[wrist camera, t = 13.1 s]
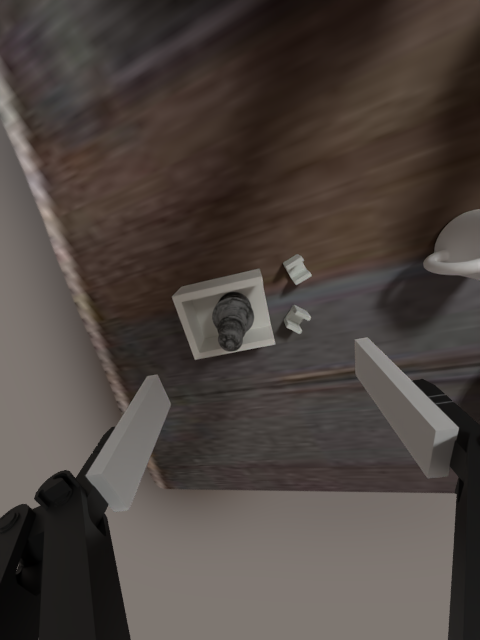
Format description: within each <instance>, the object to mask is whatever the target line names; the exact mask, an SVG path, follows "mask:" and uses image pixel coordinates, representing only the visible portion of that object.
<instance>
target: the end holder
mask: <svg viewBox="0 0 480 640" xmlns="http://www.w3.org/2000/svg"><path fill="white" fill-rule="evenodd" d="M230 292H238V293H241V294H243V295H245V296H246V297H247V298H248V299H249V301H250V303H251V307H252V309H253V312H254V322H253V325H252V327H251V328H250V329H249V330H248V331H247V332H246V333H245V336H244V337H243V343H242V345H241V347H240V348H239V349H238V350H236V351H233V352H238V351H244V350H249V349H254V348H259V347H264V346H269V345H275V340H274V336H273V332H272V328H271V323H270V318H269V313H268V308H267V303H266V298H265V293H264V288H263V279H262V275H261V272H260V269H255V270H251V271H247V272H242V273H238V274H234V275H229V276H225V277H221V278H216V279H212V280H208V281H203V282H199V283H195V284H190V285H186V286H182V287H181V288H180V289H179V290H178V291H177V292H176V293H175V294H174V295H173V296H172V299H173V302H174V304H175V307H176V310H177V312H178V315H179V318H180V321H181V323H182V326H183V329H184V331H185V334H186V337H187V340H188V342H189V345H190V348H191V350H192V353H193V356H194V359H195V360H197V359H202V358H207V357H212V356H218V355H223V354H228V353H233V352H228V351H225V350H224V349H222V348H221V347H220V345H219V342H218V336H219V334H218V331H217V328H216V327H215V325H214V323H213V320H212V313H213V310H214V307H215V306H216V304H217V303H218V301H219V300H220V298H221V297H222V296H223V295H225V294H227V293H230Z"/></svg>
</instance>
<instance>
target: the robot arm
mask: <svg viewBox="0 0 480 640" xmlns="http://www.w3.org/2000/svg"><path fill="white" fill-rule="evenodd" d="M355 372H356V376H357V378H358V379H359V380H360V382H361V383H362V385H363V386H364V388H365V389H366V391H367V392H368V393H369V395H370V396H371V398H372V399H373V401H374V402H375V403H376V405H377V406H378V408H379V409H380V411H381V412H382V414H383V415H384V416H385V418H386V419H387V421H388V422H389V424H390V425H391V426H392V428H393V429H394V431H395V432H396V434H397V435H398V437H399V438H400V439H401V441H402V442H403V444H404V445H405V447H406V448H407V449H408V451H409V452H410V454H411V455H412V457H413V458H414V460H415V461H416V462H417V464H418V465H419V467H420V468H421V470H422V471H423V472H424V474H425V475H426V477H427V478H436V477H446V476H448V474H449V470H450V467H451V468H452V469H453V471H454V472H455V473H456V474H457V475H458V477H459V478H458V482H457V485H456V489H455V493H456V494H457V500H456V516H455V533H454V550H453V566H452V582H451V601H450V616H449V632H448V640H480V425H479V424H478V423H477V422H476V421H475V420H473V419H472V418H471V417H470V416H469V415H468V414H467V413H466V412H464V411H463V410H462V409H461V408H460V407H459V406H458V405H457V404H455V403H454V402H452V400H451V399H450V398H449V397H448V396H446V395H445V394H444V393H443V392H442V391H441V390H440V389H439V388H437V387H436V386H435V385H433V384H431V383H429V382H427V381H426V380H424V379H420V380H413V381H411V380H410V379H409V378H408V377H407V376H406V375H405V374H404V373H403V372H402V371H401V370H400V369H399V368H398V367H397V366H396V365H395V364H394V363H393V362H392V361H391V360H390V359H389V358H388V357H387V356H386V355H385V354H384V353H383V352H382V351H381V350H380V349H379V348H378V347H377V346H376V345H375V344H374V343H373V342H372V341H371V340H370V339H369V338H368V337H367V338H361V339H355ZM170 406H171V403H170V401H169V398H168V396H167V394H166V392H165V390H164V388H163V385H162V383H161V381H160V379H159V377H158V374H157V375H151V376H147V377H146V379H145V380H144V382H143V384H142V385H141V387H140V389H139V390H138V392H137V393H136V395H135V397H134V398H133V400H132V401H131V403H130V405H129V406H128V408H127V409H126V411H125V413H124V414H123V416H122V418H121V419H120V421H119V422H118V424H117V426H116V427H112V428H111V429H109V431H107V432H106V433H105V434H104V435H103V437H102V439H101V440H100V442H99V443H98V446H96V448H95V449H94V451H93V454H91V455H90V457H89V458H88V460H87V462H86V463H85V465H84V466H83V468H82V469H81V471H80V472H79V474H78V475H77V477H76V478H75V477H74V476H73V475H72V474H71V473H70V471H67V470H64V471H60V472H58V473H56V474H54V475H53V476H52V477H50V478H49V479H47V480H46V481H45V482H44V483H43V484H42V486H41V487H40V488H39V489H38V491H37V492H36V495H35V498H34V499H35V500H36V501H37V502H38V503H39V504H40V505H41V506H39V507H37V508H34V509H31V508H30V507H29V506H28V505H27V504H21V505H18V506H16V507H14V508H13V509H11V510H10V511H8V512H7V513H6V514H5V515H3V516H2V517H1V518H0V640H38V639H39V640H131V639H130V634H129V629H128V624H127V618H126V613H125V608H124V603H123V598H122V593H121V587H120V582H119V577H118V572H117V566H116V561H115V556H114V551H113V546H112V541H111V535H110V530H109V526H108V520H107V517H106V515H105V514H104V512H105V511H106V509H107V507H108V505H109V506H110V508H111V509H112V510H113V511H114V512H118V511H128V510H129V509H130V506H131V504H132V501H133V499H134V496H135V494H136V491H137V488H138V486H139V484H140V481H141V479H142V476H143V474H144V471H145V469H146V466H147V464H148V461H149V459H150V456H151V454H152V451H153V449H154V446H155V444H156V441H157V439H158V436H159V434H160V431H161V429H162V426H163V424H164V421H165V419H166V416H167V414H168V411H169V409H170ZM18 564H19V566H18ZM17 567H18V569H17Z"/></svg>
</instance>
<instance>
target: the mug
mask: <svg viewBox="0 0 480 640" xmlns="http://www.w3.org/2000/svg"><path fill="white" fill-rule="evenodd" d="M423 266H424V268H425V269H426V270H427V271H429V272H432V273H436V274H442V275H460V276H464V277H468V278H472V279H475V280H479V281H480V209H477V210H472V211H468V212H465V213H463V214H461V215H459V216H458V217H456V218H454V219H453V220H452V221H450V222H449V223H448V224H447V225H446V226H445V227H444V229H443V230H442V231H441V233H440V234H439V236H438V238H437V240H436V243H435V248H434V253H433V254H431V255H429V256H428V257H427V258H426V259H425V260H424V262H423Z"/></svg>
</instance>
